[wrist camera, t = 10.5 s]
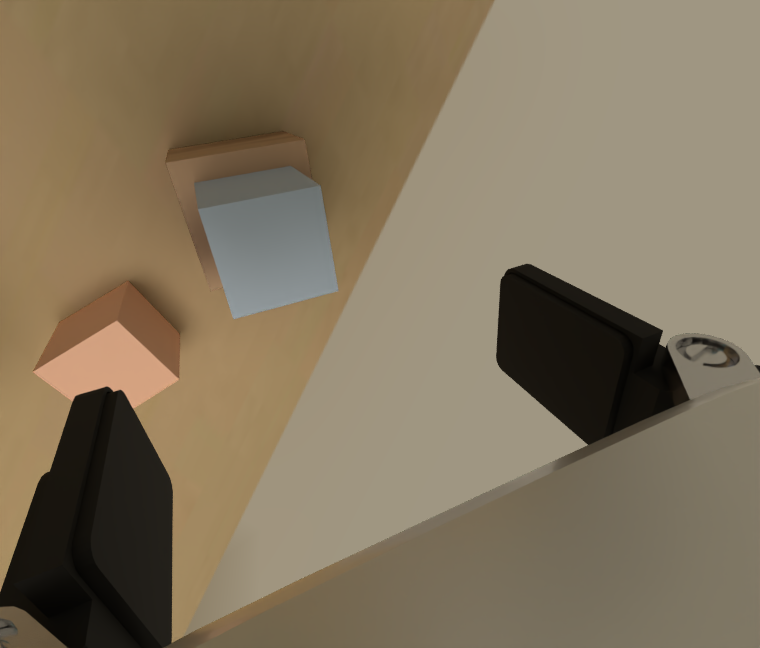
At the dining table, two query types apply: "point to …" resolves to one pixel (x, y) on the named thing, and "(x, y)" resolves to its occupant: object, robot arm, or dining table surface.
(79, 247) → the dining table surface
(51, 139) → the dining table surface
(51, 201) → the dining table surface
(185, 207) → the walnut block
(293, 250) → the slate block
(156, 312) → the terracotta block
